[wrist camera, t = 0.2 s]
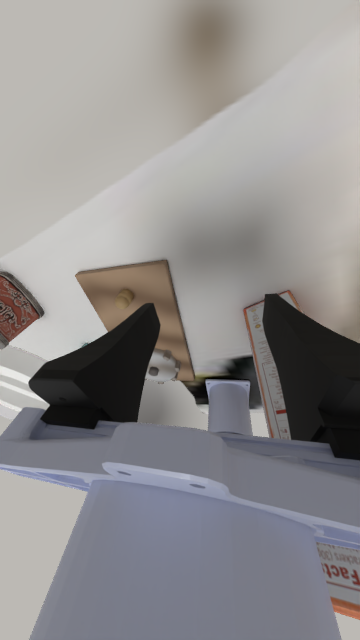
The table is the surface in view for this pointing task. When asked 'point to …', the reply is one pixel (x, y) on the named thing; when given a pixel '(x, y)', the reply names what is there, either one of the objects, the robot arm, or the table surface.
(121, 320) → the board
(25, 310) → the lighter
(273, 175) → the table surface
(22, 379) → the ring with crossbar
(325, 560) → the cracker box
